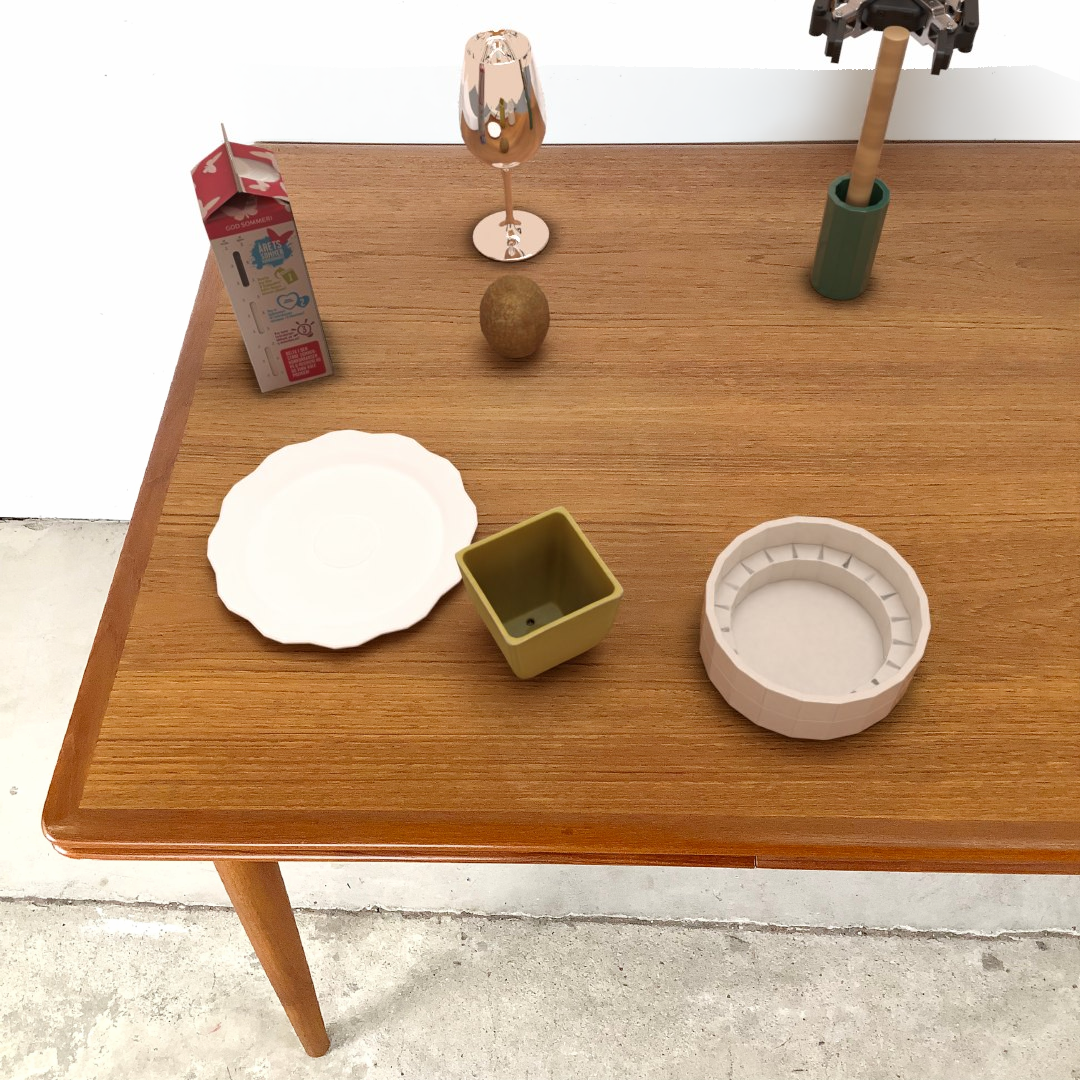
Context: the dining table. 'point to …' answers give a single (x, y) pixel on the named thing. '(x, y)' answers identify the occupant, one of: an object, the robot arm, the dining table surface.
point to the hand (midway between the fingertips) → (886, 59)
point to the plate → (341, 538)
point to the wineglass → (503, 132)
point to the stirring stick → (877, 114)
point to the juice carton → (262, 263)
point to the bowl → (812, 626)
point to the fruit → (514, 316)
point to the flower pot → (541, 591)
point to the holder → (848, 241)
